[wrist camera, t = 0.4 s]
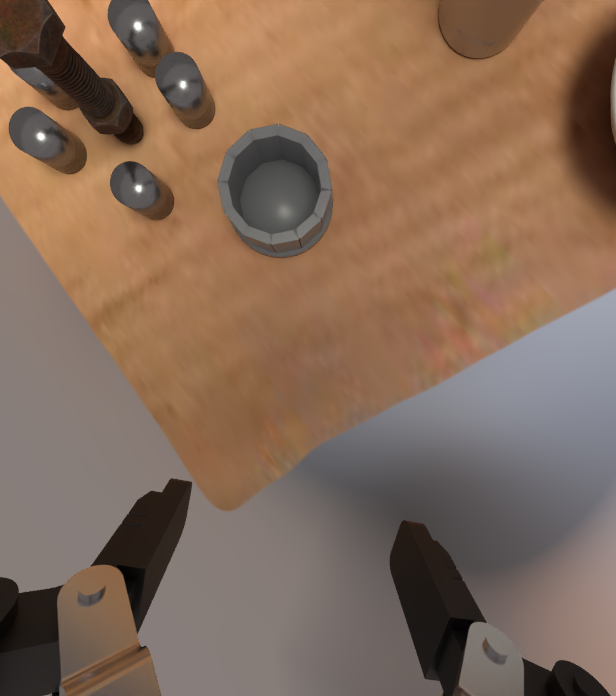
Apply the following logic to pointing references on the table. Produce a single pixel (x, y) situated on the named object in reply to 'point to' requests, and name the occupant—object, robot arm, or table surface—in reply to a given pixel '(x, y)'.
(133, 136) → the bolt
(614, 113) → the soup bowl
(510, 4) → the robot arm
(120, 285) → the table surface
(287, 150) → the round gray container
